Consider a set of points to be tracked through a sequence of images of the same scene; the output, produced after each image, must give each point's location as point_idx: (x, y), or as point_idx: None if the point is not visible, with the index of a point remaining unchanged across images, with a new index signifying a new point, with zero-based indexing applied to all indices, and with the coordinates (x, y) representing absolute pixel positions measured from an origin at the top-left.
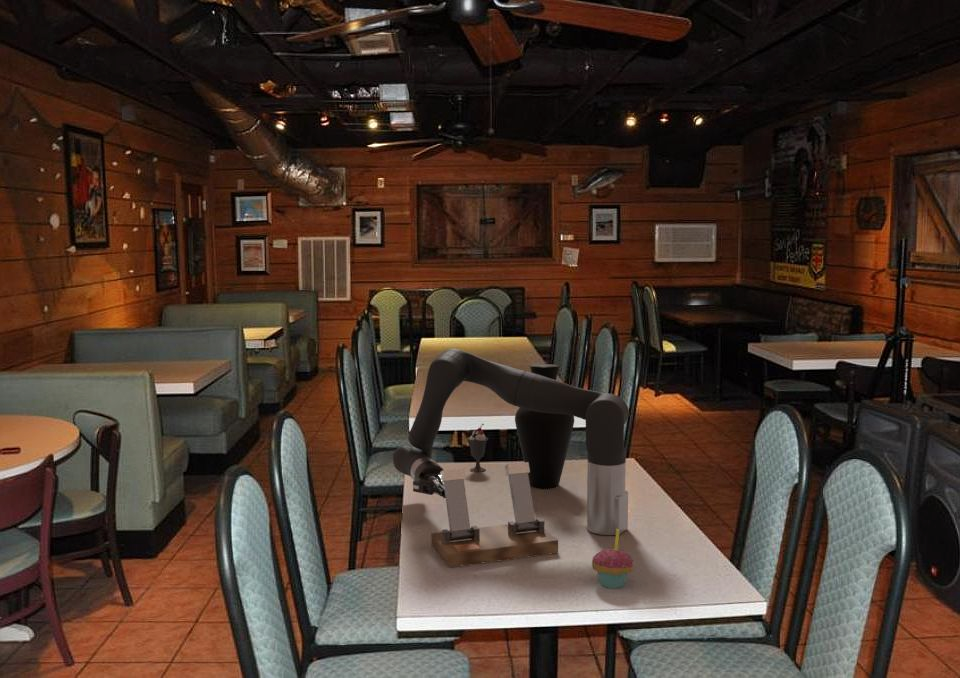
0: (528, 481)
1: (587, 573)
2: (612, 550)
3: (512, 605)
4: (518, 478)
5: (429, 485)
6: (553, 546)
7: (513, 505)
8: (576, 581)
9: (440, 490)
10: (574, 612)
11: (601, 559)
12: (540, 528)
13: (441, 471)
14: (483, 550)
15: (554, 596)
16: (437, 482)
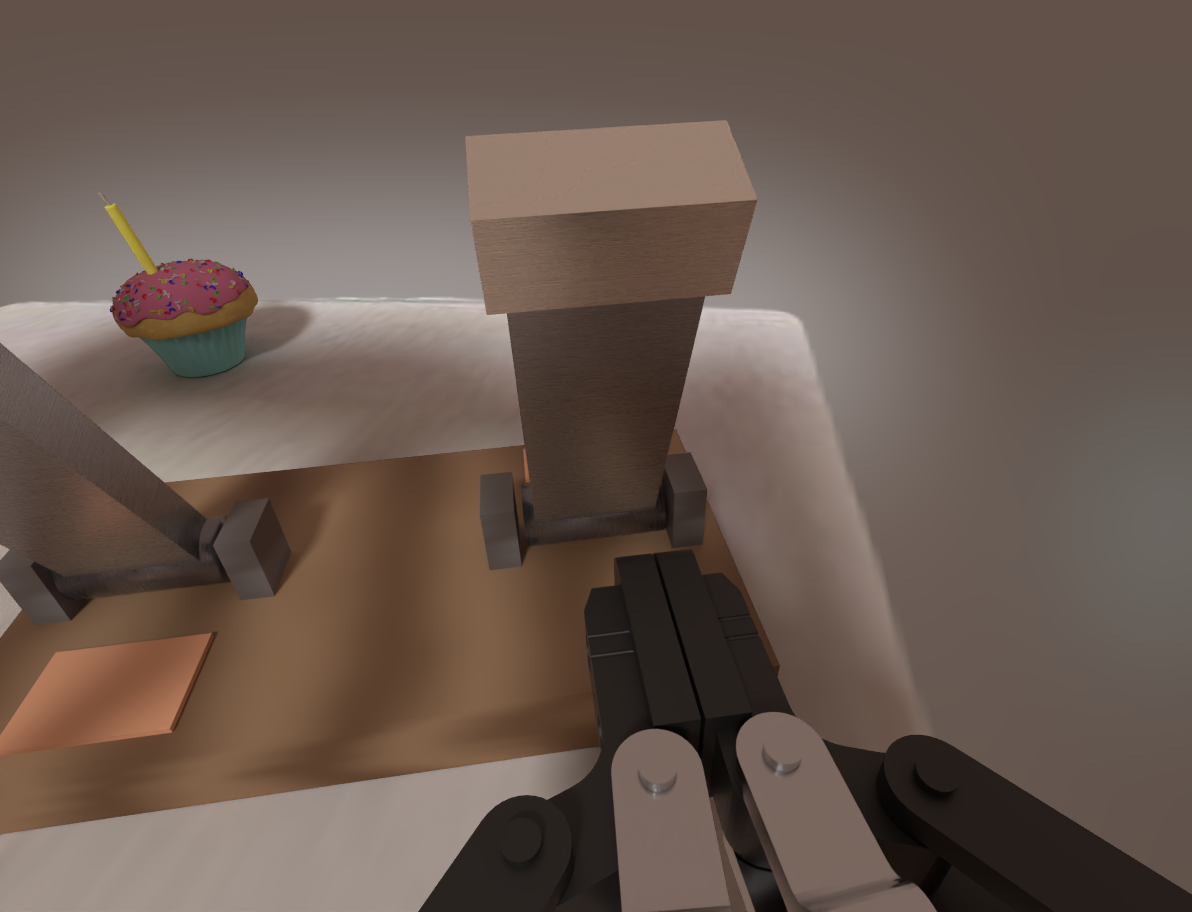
0: None
1: (213, 405)
2: (164, 270)
3: None
4: None
5: (947, 749)
6: None
7: (129, 496)
8: (290, 377)
9: (736, 588)
10: (408, 298)
11: (230, 271)
12: None
13: (741, 161)
14: (512, 449)
15: (407, 336)
16: (818, 883)
